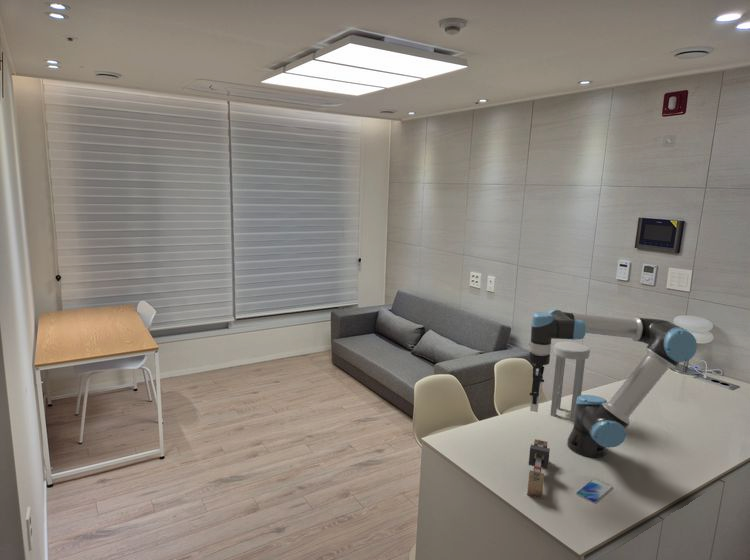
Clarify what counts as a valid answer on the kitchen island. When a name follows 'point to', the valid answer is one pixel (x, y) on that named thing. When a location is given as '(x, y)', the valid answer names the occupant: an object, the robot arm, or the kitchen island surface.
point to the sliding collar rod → (537, 473)
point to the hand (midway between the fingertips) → (535, 404)
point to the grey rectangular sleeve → (541, 451)
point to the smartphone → (594, 490)
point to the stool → (562, 352)
